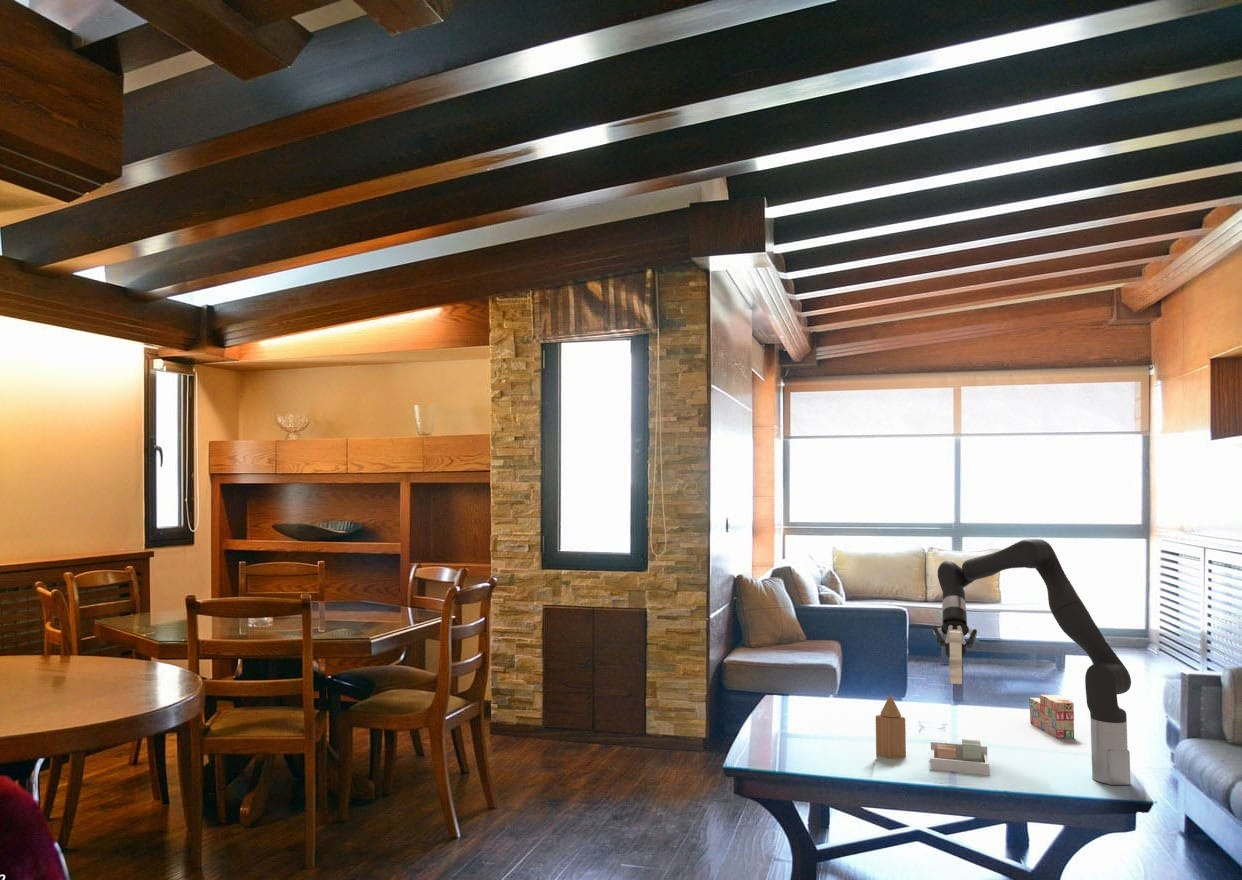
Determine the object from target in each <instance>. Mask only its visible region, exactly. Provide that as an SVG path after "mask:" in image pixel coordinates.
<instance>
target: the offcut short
mask: <svg viewBox="0 0 1242 880" xmlns="http://www.w3.org/2000/svg"><path fill="white" fill-rule="evenodd" d="M938 758H940V759H950V760H956V750H955V746H953V745H942V744H938Z"/></svg>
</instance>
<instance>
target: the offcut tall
mask: <svg viewBox="0 0 1242 880" xmlns="http://www.w3.org/2000/svg"><path fill="white" fill-rule="evenodd" d="M961 744H962V757H963V761H971V762H981V746H982V744H981V740H977V739H965V738H962V739H961Z"/></svg>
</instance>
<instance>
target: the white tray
mask: <svg viewBox="0 0 1242 880" xmlns="http://www.w3.org/2000/svg"><path fill="white" fill-rule="evenodd" d="M938 744H942V745H953V746H955V750H956V760H950V759H940V758H938ZM929 759H930V770H937V771H944V772H945V771H947V772H955V773H963V774H964V773H965V774H966V773H967V774H976V775H986V776H990V775H991V774H990V761H989V760H990V759H989V756H988V746H987V745H981V762H971V761H963V757H962V743H957V742H956V743H955V742H951V739H950V738H947V739H946V741H945V742H944V741H936V740H935V741H934V740H933V741H932V740H930V757H929Z"/></svg>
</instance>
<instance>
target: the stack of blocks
mask: <svg viewBox="0 0 1242 880" xmlns="http://www.w3.org/2000/svg"><path fill="white" fill-rule="evenodd" d="M1028 699H1029V700H1028V701H1029V704H1028V705H1029V720H1030V721H1029V722H1030V724H1032V726H1033V725H1034V726H1035V727H1036V728H1038V729H1040V730H1042V731H1043V732H1045V733H1047V734H1048V735H1050V736H1052V737H1054V738H1055V739H1075V721H1074V720H1075V712H1074V711H1075V708H1074V704H1075V703H1074V702H1073V701H1070V699H1067V698H1065V697H1063V696H1060V695H1058V694H1040V695H1039V697H1029V698H1028Z"/></svg>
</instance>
